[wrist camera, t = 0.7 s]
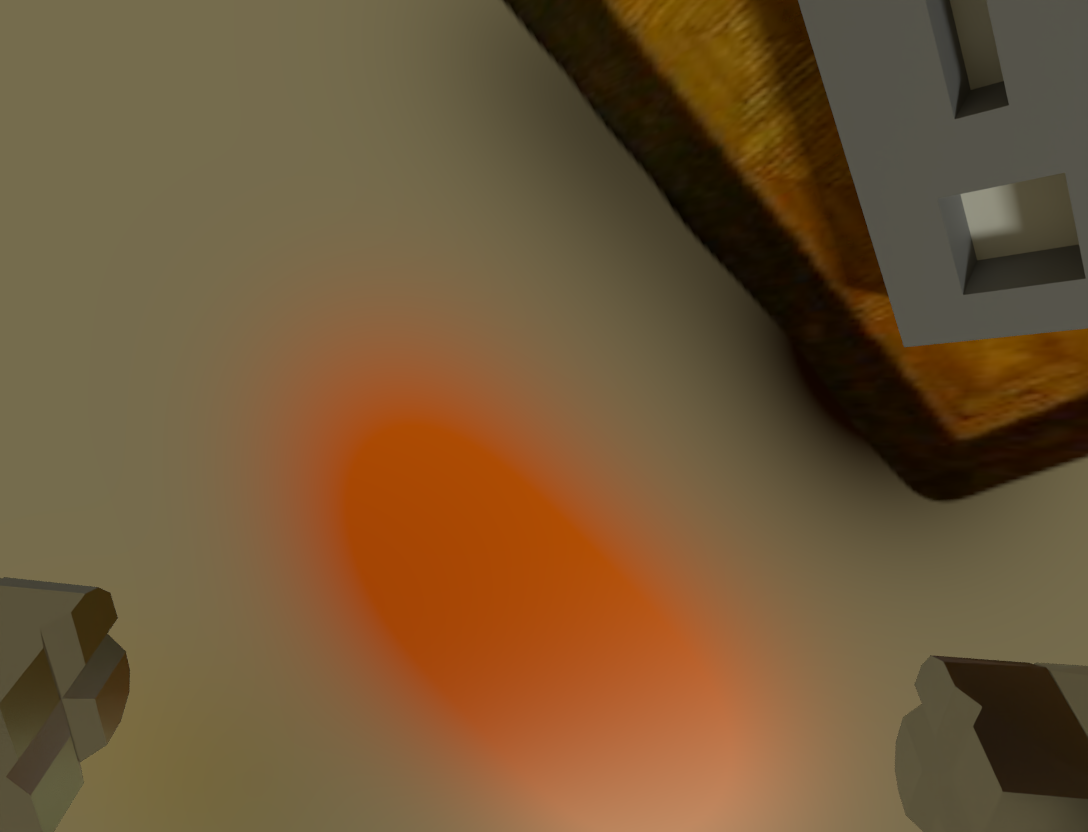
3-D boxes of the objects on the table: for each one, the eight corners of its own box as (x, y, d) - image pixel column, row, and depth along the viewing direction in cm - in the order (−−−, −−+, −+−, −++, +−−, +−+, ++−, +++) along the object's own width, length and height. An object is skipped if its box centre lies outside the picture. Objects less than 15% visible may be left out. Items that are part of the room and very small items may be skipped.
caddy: (1124, -224, 38) (1112, -204, 35) (1192, 268, 48) (1187, 317, 45) (811, -85, 47) (779, -59, 44) (923, 304, 57) (904, 347, 54)
